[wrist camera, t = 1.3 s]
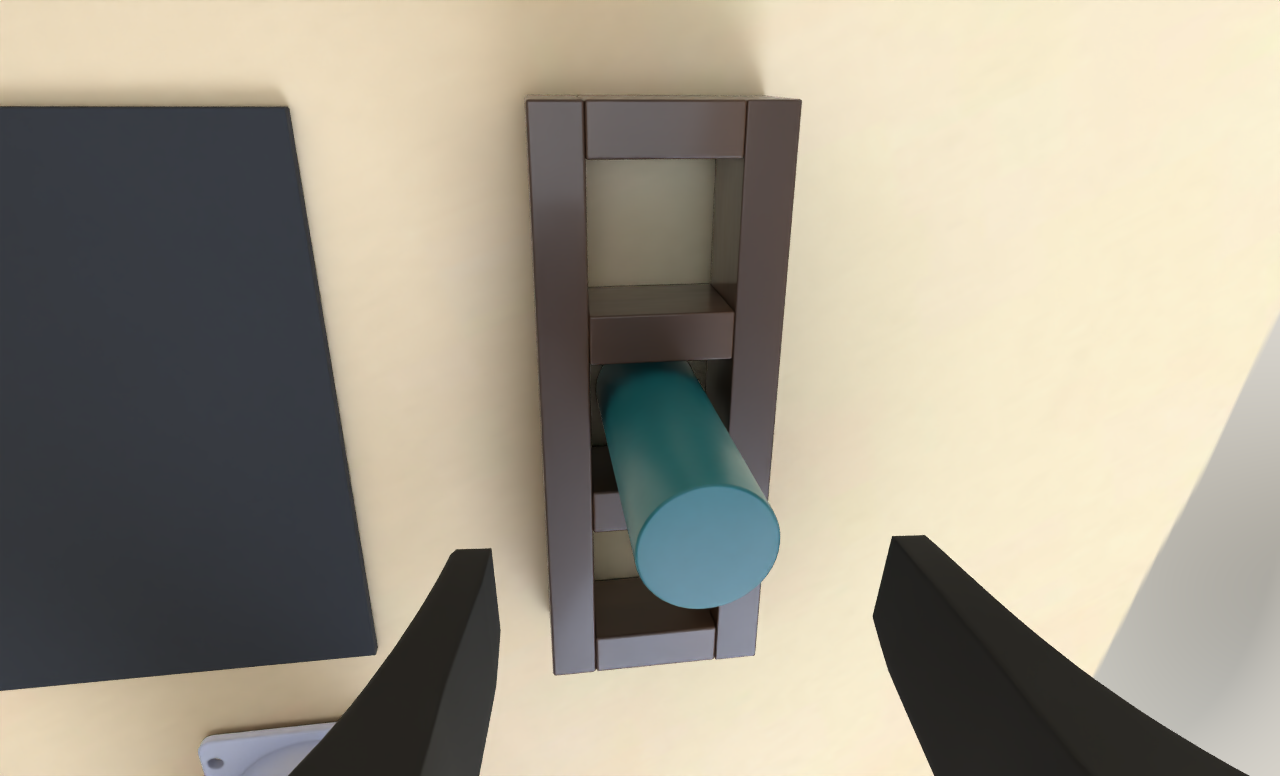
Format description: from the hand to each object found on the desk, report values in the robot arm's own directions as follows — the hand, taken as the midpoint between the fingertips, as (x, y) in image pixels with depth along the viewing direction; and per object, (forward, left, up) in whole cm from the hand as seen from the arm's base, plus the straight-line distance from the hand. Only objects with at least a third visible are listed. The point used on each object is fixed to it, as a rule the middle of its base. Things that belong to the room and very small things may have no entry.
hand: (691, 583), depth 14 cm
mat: (-1, +15, -11) cm, 18 cm away
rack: (-1, -1, -11) cm, 11 cm away
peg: (-1, -1, -11) cm, 11 cm away
